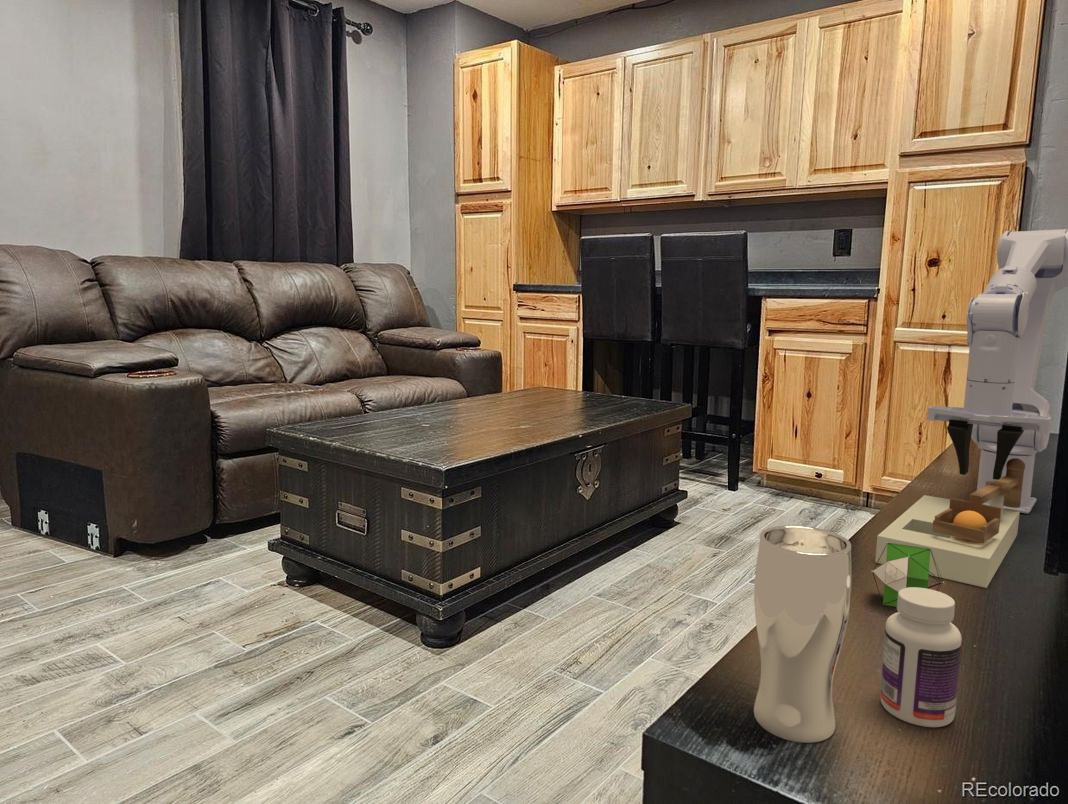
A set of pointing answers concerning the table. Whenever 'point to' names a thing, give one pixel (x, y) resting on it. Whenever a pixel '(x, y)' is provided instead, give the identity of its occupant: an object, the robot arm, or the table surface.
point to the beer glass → (800, 628)
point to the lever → (1012, 498)
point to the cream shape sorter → (951, 542)
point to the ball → (970, 520)
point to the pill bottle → (921, 658)
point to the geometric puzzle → (904, 571)
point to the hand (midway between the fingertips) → (980, 475)
